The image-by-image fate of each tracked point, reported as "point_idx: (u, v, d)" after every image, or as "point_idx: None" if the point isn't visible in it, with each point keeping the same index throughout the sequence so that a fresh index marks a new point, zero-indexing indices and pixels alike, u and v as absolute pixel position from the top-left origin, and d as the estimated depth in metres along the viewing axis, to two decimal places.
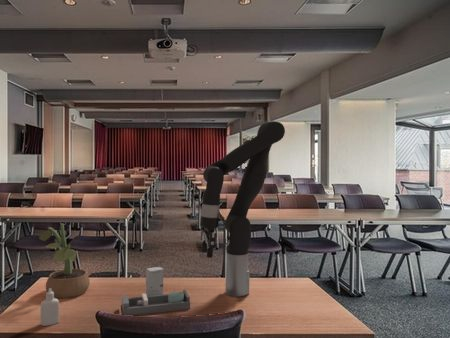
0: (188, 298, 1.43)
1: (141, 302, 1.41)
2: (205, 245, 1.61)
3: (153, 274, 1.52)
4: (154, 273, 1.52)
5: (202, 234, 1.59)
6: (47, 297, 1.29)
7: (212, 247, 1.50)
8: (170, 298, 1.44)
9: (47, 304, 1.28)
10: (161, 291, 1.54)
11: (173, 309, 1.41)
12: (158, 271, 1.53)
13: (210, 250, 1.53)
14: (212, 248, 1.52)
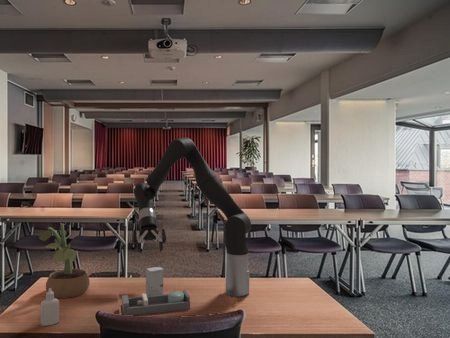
0: (188, 298, 1.43)
1: (141, 302, 1.41)
2: (159, 244, 1.67)
3: (153, 274, 1.52)
4: (154, 273, 1.52)
5: None
6: (47, 297, 1.29)
7: (133, 242, 1.65)
8: (170, 298, 1.44)
9: (47, 304, 1.28)
10: (161, 291, 1.54)
11: (173, 309, 1.41)
12: (158, 271, 1.53)
13: None
14: (137, 243, 1.65)
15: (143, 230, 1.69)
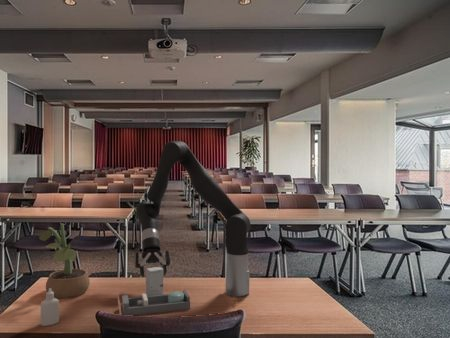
0: (188, 298, 1.43)
1: (141, 302, 1.41)
2: (162, 267, 1.59)
3: (153, 274, 1.52)
4: (154, 273, 1.52)
5: None
6: (47, 297, 1.29)
7: (135, 266, 1.57)
8: (170, 298, 1.44)
9: (47, 304, 1.28)
10: (161, 291, 1.54)
11: (173, 309, 1.41)
12: (158, 271, 1.53)
13: None
14: (139, 267, 1.57)
15: (146, 252, 1.61)
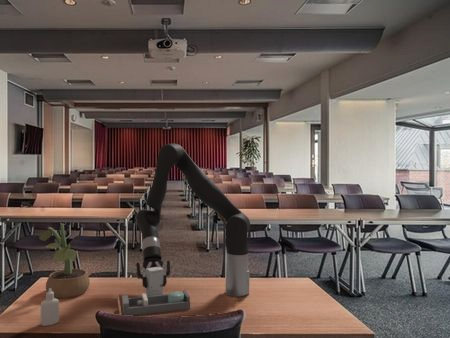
0: (188, 298, 1.43)
1: (141, 302, 1.41)
2: None
3: (153, 274, 1.52)
4: (154, 273, 1.52)
5: None
6: (47, 297, 1.29)
7: (138, 276, 1.54)
8: (170, 298, 1.44)
9: (47, 304, 1.28)
10: (161, 291, 1.54)
11: (173, 309, 1.41)
12: (158, 271, 1.53)
13: None
14: (142, 277, 1.53)
15: (146, 261, 1.58)
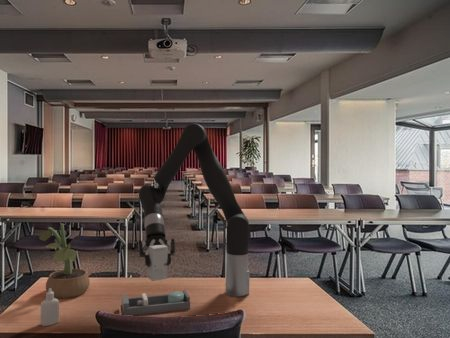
0: (188, 298, 1.43)
1: (141, 302, 1.41)
2: None
3: (157, 252, 1.41)
4: (158, 251, 1.41)
5: None
6: (47, 297, 1.29)
7: (140, 255, 1.43)
8: (170, 298, 1.44)
9: (47, 304, 1.28)
10: (165, 270, 1.43)
11: (173, 309, 1.41)
12: (162, 249, 1.42)
13: None
14: (144, 256, 1.42)
15: (149, 239, 1.47)
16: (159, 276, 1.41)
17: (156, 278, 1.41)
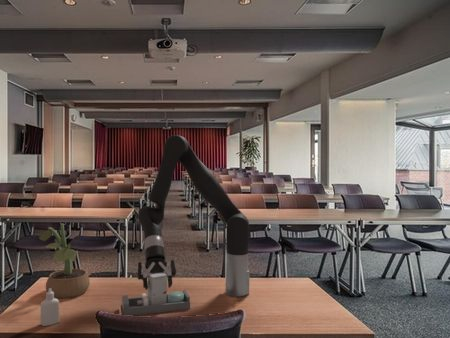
0: (188, 298, 1.43)
1: (141, 302, 1.41)
2: (168, 278, 1.45)
3: (156, 280, 1.42)
4: (157, 279, 1.42)
5: None
6: (47, 297, 1.29)
7: (138, 277, 1.43)
8: (170, 298, 1.43)
9: (47, 304, 1.28)
10: (164, 298, 1.43)
11: (173, 309, 1.41)
12: (161, 277, 1.43)
13: None
14: (142, 278, 1.43)
15: (149, 262, 1.47)
16: None
17: None
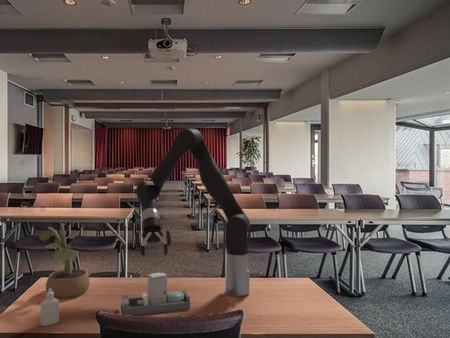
0: (188, 298, 1.43)
1: (141, 302, 1.41)
2: (163, 247, 1.56)
3: (156, 280, 1.42)
4: (157, 279, 1.42)
5: (159, 240, 1.60)
6: (47, 297, 1.29)
7: (136, 245, 1.54)
8: (170, 298, 1.44)
9: (47, 304, 1.28)
10: (164, 298, 1.43)
11: (173, 309, 1.41)
12: (161, 277, 1.43)
13: None
14: (140, 246, 1.54)
15: (146, 232, 1.58)
16: None
17: None
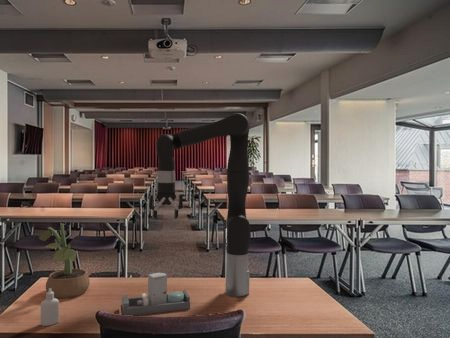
0: (188, 298, 1.43)
1: (141, 302, 1.41)
2: (175, 211, 1.66)
3: (156, 280, 1.42)
4: (157, 279, 1.42)
5: None
6: (47, 297, 1.29)
7: None
8: (170, 298, 1.43)
9: (47, 304, 1.28)
10: (164, 298, 1.43)
11: (173, 309, 1.41)
12: (161, 277, 1.43)
13: None
14: (153, 210, 1.63)
15: (160, 196, 1.63)
16: None
17: None
